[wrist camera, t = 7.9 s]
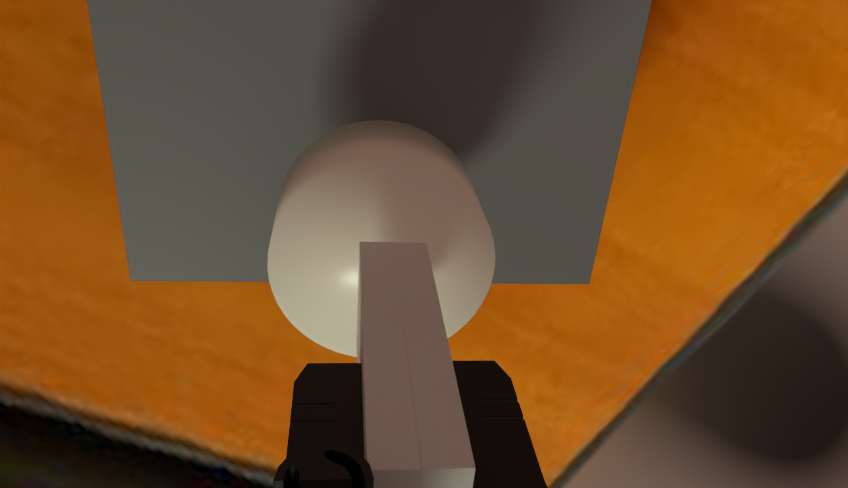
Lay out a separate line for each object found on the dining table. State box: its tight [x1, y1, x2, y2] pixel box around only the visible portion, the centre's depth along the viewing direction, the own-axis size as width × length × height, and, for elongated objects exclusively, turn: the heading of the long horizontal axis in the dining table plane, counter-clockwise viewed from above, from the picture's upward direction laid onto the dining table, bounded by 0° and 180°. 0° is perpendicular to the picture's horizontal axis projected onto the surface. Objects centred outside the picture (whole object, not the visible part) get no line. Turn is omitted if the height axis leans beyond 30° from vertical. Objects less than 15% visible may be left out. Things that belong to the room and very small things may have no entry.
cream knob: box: [267, 120, 495, 357], centre depth 20 cm, size 6×6×8 cm
